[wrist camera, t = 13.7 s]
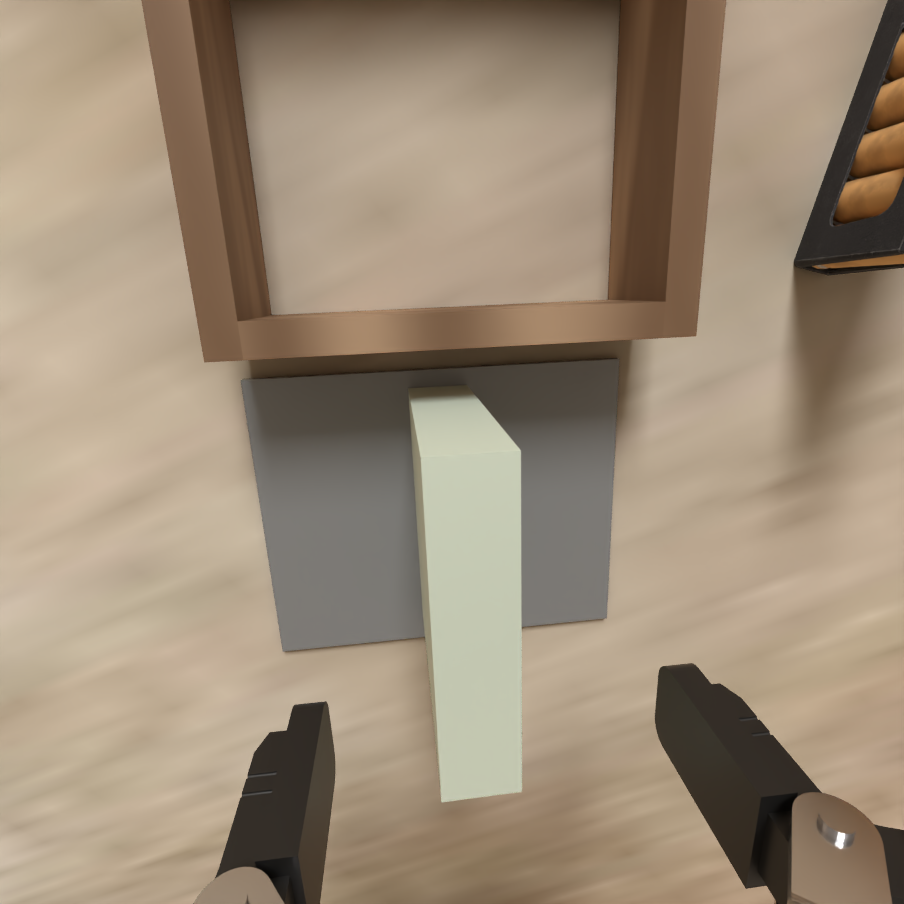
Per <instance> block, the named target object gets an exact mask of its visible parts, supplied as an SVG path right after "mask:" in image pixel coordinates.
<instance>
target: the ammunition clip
mask: <svg viewBox="0 0 904 904" xmlns="http://www.w3.org/2000/svg"><path fill="white" fill-rule="evenodd" d="M794 263H795V265H796V267H799V268H803V269H807V270H811V271H814V272H818V273H822V274H826V275H837V274H847V273H856V272H866V271H875V270H885V269H895V268H904V0H888V1H887V4H886V7H885V10H884V12H883V15H882V18H881V21H880V23H879V26H878V29H877V32H876V35H875V37H874V40H873V43H872V46H871V48H870V51H869V54H868V57H867V60H866V62H865V65H864V68H863V71H862V73H861V76H860V79H859V82H858V85H857V87H856V90H855V93H854V96H853V98H852V101H851V104H850V107H849V110H848V112H847V115H846V118H845V121H844V123H843V126H842V129H841V132H840V135H839V137H838V140H837V143H836V146H835V148H834V151H833V154H832V157H831V160H830V162H829V165H828V168H827V171H826V173H825V176H824V179H823V182H822V185H821V187H820V190H819V193H818V196H817V198H816V201H815V204H814V207H813V210H812V212H811V215H810V218H809V221H808V223H807V226H806V229H805V232H804V235H803V237H802V240H801V243H800V246H799V248H798V251H797V254H796V257H795V260H794Z"/></svg>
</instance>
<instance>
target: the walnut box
mask: <svg viewBox="0 0 904 904" xmlns="http://www.w3.org/2000/svg"><path fill="white" fill-rule="evenodd" d="M142 6H143V12H144V18H145V23H146V29H147V35H148V41H149V46H150V52H151V58H152V64H153V69H154V75H155V81H156V87H157V92H158V98H159V104H160V110H161V115H162V121H163V127H164V133H165V138H166V144H167V150H168V156H169V161H170V167H171V173H172V179H173V185H174V190H175V196H176V202H177V208H178V213H179V219H180V225H181V231H182V236H183V242H184V248H185V254H186V259H187V265H188V271H189V277H190V282H191V288H192V294H193V300H194V305H195V311H196V317H197V323H198V328H199V334H200V340H201V346H202V351H203V357H204V362H219V361H238V360H257V359H276V358H295V357H313V356H332V355H351V354H370V353H389V352H408V351H426V350H445V349H464V348H483V347H502V346H521V345H539V344H558V343H577V342H596V341H615V340H634V339H653V338H671V337H690V336H696V332H697V321H698V310H699V299H700V287H701V276H702V265H703V254H704V243H705V231H706V220H707V209H708V198H709V186H710V175H711V164H712V153H713V141H714V130H715V119H716V108H717V97H718V85H719V74H720V63H721V52H722V40H723V29H724V18H725V7H726V0H621V3H620V27H619V51H618V75H617V99H616V123H615V147H614V171H613V195H612V219H611V243H610V267H609V291H608V300H595V301H573V302H551V303H529V304H507V305H485V306H463V307H441V308H420V309H398V310H376V311H354V312H332V313H310V314H288V315H271V308H270V301H269V294H268V286H267V279H266V271H265V264H264V256H263V249H262V241H261V234H260V227H259V219H258V212H257V204H256V197H255V189H254V182H253V174H252V167H251V160H250V152H249V145H248V137H247V130H246V122H245V115H244V107H243V100H242V93H241V85H240V78H239V70H238V63H237V55H236V48H235V40H234V33H233V26H232V18H231V11H230V3H229V0H142Z"/></svg>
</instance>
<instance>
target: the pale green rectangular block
mask: <svg viewBox="0 0 904 904" xmlns="http://www.w3.org/2000/svg"><path fill="white" fill-rule="evenodd" d="M408 394H409V409H410V425H411V440H412V456H413V471H414V487H415V502H416V518H417V533H418V548H419V564H420V579H421V595H422V610H423V622H424V632H425V642H426V652H427V662H428V672H429V682H430V692H431V702H432V712H433V722H434V732H435V743H436V753H437V763H438V773H439V783H440V793H441V802H448V801H456V800H463V799H471V798H479V797H486V796H494V795H501V794H509V793H517V792H522V623H521V450H520V449H519V448H518V446H517V445H516V444H515V443H514V442H513V440H512V439H511V438H510V437H509V436H508V434H507V433H506V432H505V431H504V429H503V428H502V427H501V426H500V425H499V423H498V422H497V421H496V420H495V419H494V417H493V416H492V415H491V414H490V413H489V411H488V410H487V409H486V408H485V406H484V405H483V404H482V403H481V402H480V400H479V399H478V398H477V397H476V396H475V394H474V393H473V392H472V391H471V389H470V388H469V387H468V386H467V385H457V386H440V387H423V388H408Z"/></svg>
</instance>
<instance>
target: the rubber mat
mask: <svg viewBox="0 0 904 904" xmlns="http://www.w3.org/2000/svg"><path fill="white" fill-rule="evenodd" d="M618 378H619V359H617V358H614V359H596V360H578V361H561V362H543V363H525V364H507V365H490V366H472V367H454V368H436V369H418V370H401V371H383V372H365V373H347V374H330V375H312V376H294V377H276V378H259V379H242V380H241V386H242V393H243V399H244V405H245V412H246V418H247V425H248V431H249V438H250V444H251V450H252V457H253V463H254V470H255V476H256V482H257V489H258V495H259V502H260V508H261V515H262V521H263V527H264V534H265V540H266V547H267V553H268V559H269V566H270V572H271V579H272V585H273V592H274V598H275V604H276V611H277V617H278V624H279V630H280V636H281V643H282V649H283V651H292V650H302V649H312V648H322V647H331V646H341V645H351V644H360V643H370V642H380V641H390V640H399V639H409V638H419V637H425V632H424V622H423V610H422V595H421V579H420V564H419V548H418V533H417V518H416V502H415V487H414V471H413V456H412V440H411V425H410V409H409V394H408V388H423V387H440V386H457V385H467V386H468V387H469V388H470V389H471V391H472V392H473V393H474V394H475V396H476V397H477V398H478V399H479V400H480V402H481V403H482V404H483V405H484V406H485V408H486V409H487V410H488V411H489V413H490V414H491V415H492V416H493V417H494V419H495V420H496V421H497V422H498V423H499V425H500V426H501V427H502V428H503V429H504V431H505V432H506V433H507V434H508V436H509V437H510V438H511V439H512V440H513V442H514V443H515V444H516V445H517V446H518V448H519V449H520V450H521V623H522V627H526V626H536V625H545V624H555V623H565V622H575V621H584V620H594V619H604V618H607V602H608V582H609V561H610V541H611V520H612V500H613V480H614V459H615V439H616V418H617V398H618Z"/></svg>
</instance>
